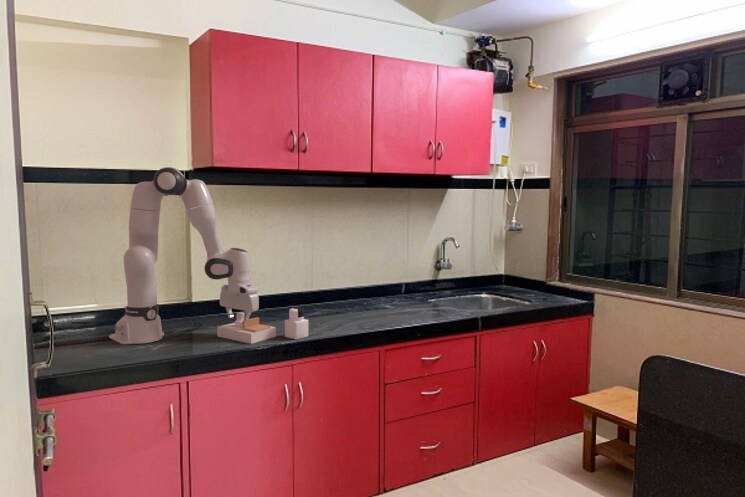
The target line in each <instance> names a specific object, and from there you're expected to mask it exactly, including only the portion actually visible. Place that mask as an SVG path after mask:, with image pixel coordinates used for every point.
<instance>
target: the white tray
mask: <svg viewBox="0 0 745 497" xmlns="http://www.w3.org/2000/svg"><path fill="white" fill-rule="evenodd" d="M261 325H263V324H261ZM269 326H270V328H269V329H265V330H262V331H258V332H252V331H248V330H243V329H242V328H236V327H235V322H231V323H227V324H224V325H220V326H217V328H216V331H217V332H216V333H217V337H218V338H223V339H227V340H231V341H237V342H241V343H246V344H256V343H259V342H263V341H265V340H268V339H273V338H276V337H277V327H275V326H272V325H269Z"/></svg>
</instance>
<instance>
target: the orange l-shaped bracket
mask: <svg viewBox="0 0 745 497" xmlns="http://www.w3.org/2000/svg"><path fill="white" fill-rule="evenodd" d="M270 326H271V325H267V324H262V325H261V324H260V317H259V316H258V317H253V318H249V319H248V320H244V321H242V329H243V330H248V331H252V332H258V331H262V330H265V329H269V328H270Z"/></svg>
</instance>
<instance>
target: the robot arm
mask: <svg viewBox="0 0 745 497" xmlns="http://www.w3.org/2000/svg"><path fill="white" fill-rule="evenodd" d="M168 196H179V198H180V199H181V201H182V202H183V205H184V208H185V212H186V215H187V217H188V220H189V221H190V224H191V226H192V227H193V228H195V230H197V232H198V233H199V234H200V236H201V238H202V241H203V245H204V248H205V251H206V255H207V256H206V257H207V258H206V262H205V265H204V273H205V275H206V276H207V278H210V279H211V280H216V281H217V280H222V279H223V280H224V279H227V284H223V285H222V286H221V291H220V293H219V294H220V295H219V305H220V307H224V308H225V310H226V313H227V317H228V319H234V313H233V311H232V310H233V309H234V310H240V311H244V314H245V315H244V320H248V319H250V316H252V315H251V314H252V313H254V312H257V311H258V310H259V308H260V307H259V305H260V304H259V303H260V301H259V300H260V299H259V298H260V297H259V295H258V293H259V287H258V286H256V285H255V284H253V283H252V282H250V281H251V280H250V270H251V267H250V266H251V263H250V255H249V253H248V251H247V250H246V249H243V248H238V247H231V248H229V249H228V250H226V251H223V249H222V246H221V242H220V239H219V235H218V232H217V220H216V219H217V218H216V210H215V205H214V202H213V198H212V197H211V193H210V191H209V189H208V187H207V185H206V183H205V182H204V181H203V180H200V179H197V178H196V179H195V178H194V179H186V177H185V175H184V173H182V172H181V171H180V170H179V169H178V168H174V167H171V166H167V167H166V166H165V167H161V168H159V170H157V171H156V172H155V174H154V176H153V180H151V181H140V182H138V183H137V184H135V186H134V189H133V191H132V195H131V199H130V200H131V201H130V209H129V219H128V238H129V239H128V249H127V250H126V251H125V253H124V255H123V267H124V268H123V270H124V275H125V276H124V277H125V283H126V295H127V296H126V298H127V303H126V304H127V305H126V306H125V307H124V309H123V310H125V312H124V315H123V316H122V317H121V318H120V319H119V320H118V321H117V322H116V323H115V327H114V329H115V330H114V331H115V333H112V334H109V336H108V337H109V339H111V340H113V341H115V342H117V343H118V344H120V345H131V344H133V345H134V344H139V345H140V344H147V343H153V342H157V341H160V340H162V339H163V337H164V336H165V332H164V331H163V329H162V320H161V316H160V315H159V309H160V308H159V304H158V292H157V289H158V288H157V281H156V271H155V264H156V263H157V261H158V255H159V253H158V252H159V251H158V250H159V226H160V216H161V205H162V201H163V197H168Z"/></svg>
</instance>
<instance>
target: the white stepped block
mask: <svg viewBox="0 0 745 497" xmlns="http://www.w3.org/2000/svg"><path fill="white" fill-rule="evenodd" d="M288 312H289V313H288V314H289V316H288V317H289V318H288V319H285V320H284V338H288V339H293V340H299V339H303V338H308V337H309V319H305V310H304V309H303V308H301V307H292V308H290V309H289V310H288Z"/></svg>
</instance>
